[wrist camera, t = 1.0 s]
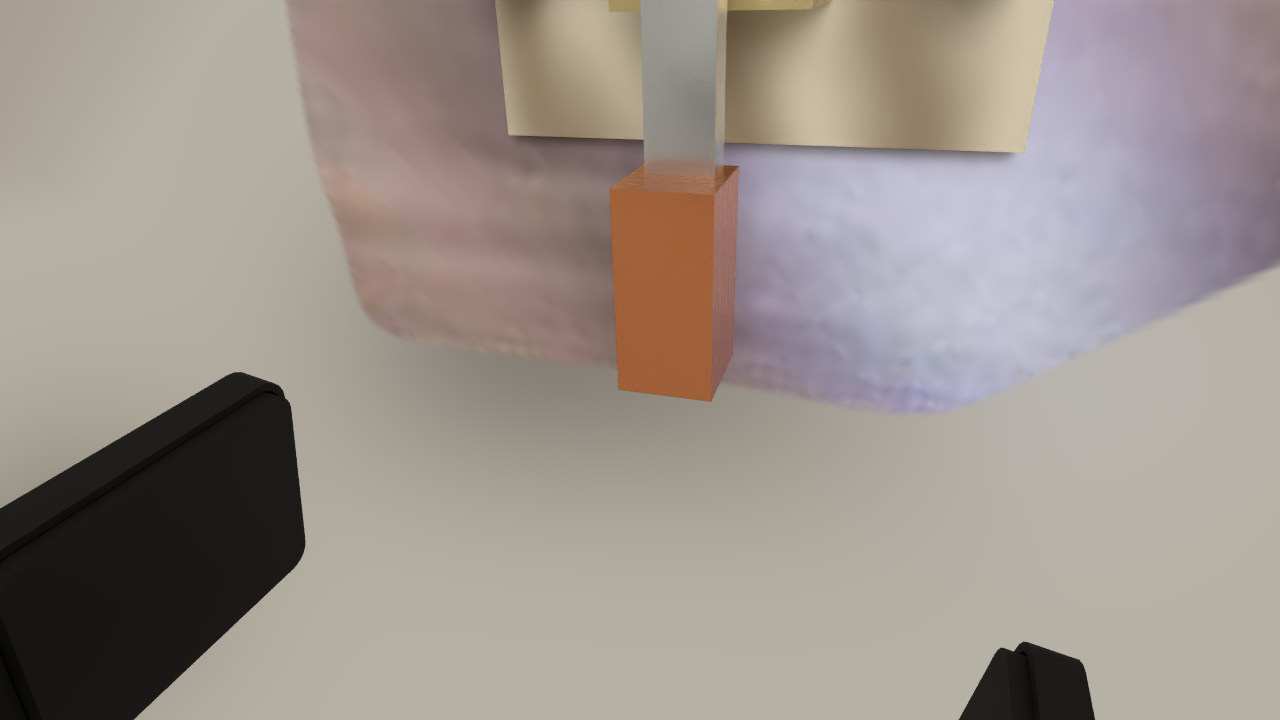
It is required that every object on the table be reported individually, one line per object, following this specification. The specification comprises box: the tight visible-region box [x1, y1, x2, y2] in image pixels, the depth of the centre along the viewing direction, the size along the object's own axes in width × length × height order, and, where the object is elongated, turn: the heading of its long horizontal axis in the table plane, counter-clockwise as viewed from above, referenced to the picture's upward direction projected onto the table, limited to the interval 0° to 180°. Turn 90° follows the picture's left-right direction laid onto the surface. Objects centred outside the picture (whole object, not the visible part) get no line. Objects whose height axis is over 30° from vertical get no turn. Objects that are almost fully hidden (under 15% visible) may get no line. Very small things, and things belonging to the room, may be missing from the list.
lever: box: [610, 0, 739, 401], centre depth 21 cm, size 15×3×3 cm, turn 1°
